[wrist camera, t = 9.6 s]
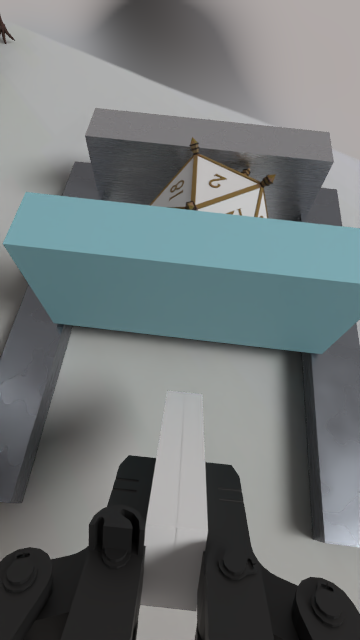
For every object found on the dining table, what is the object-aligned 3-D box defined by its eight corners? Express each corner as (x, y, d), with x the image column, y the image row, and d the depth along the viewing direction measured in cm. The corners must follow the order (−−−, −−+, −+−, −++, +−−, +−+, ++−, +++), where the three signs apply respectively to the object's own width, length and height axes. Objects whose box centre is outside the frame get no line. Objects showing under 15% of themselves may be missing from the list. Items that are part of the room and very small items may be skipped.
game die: (180, 276, 29) (146, 148, 24) (285, 260, 26) (269, 113, 22) (150, 334, 22) (92, 165, 17) (291, 320, 19) (269, 116, 14)
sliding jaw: (53, 323, 20) (2, 243, 14) (67, 281, 22) (26, 191, 15) (321, 354, 20) (394, 287, 14) (317, 310, 21) (382, 230, 15)
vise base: (-36, 495, 18) (-122, 494, 12) (79, 177, 29) (59, 104, 23) (372, 546, 17) (464, 568, 12) (328, 204, 28) (366, 136, 23)
